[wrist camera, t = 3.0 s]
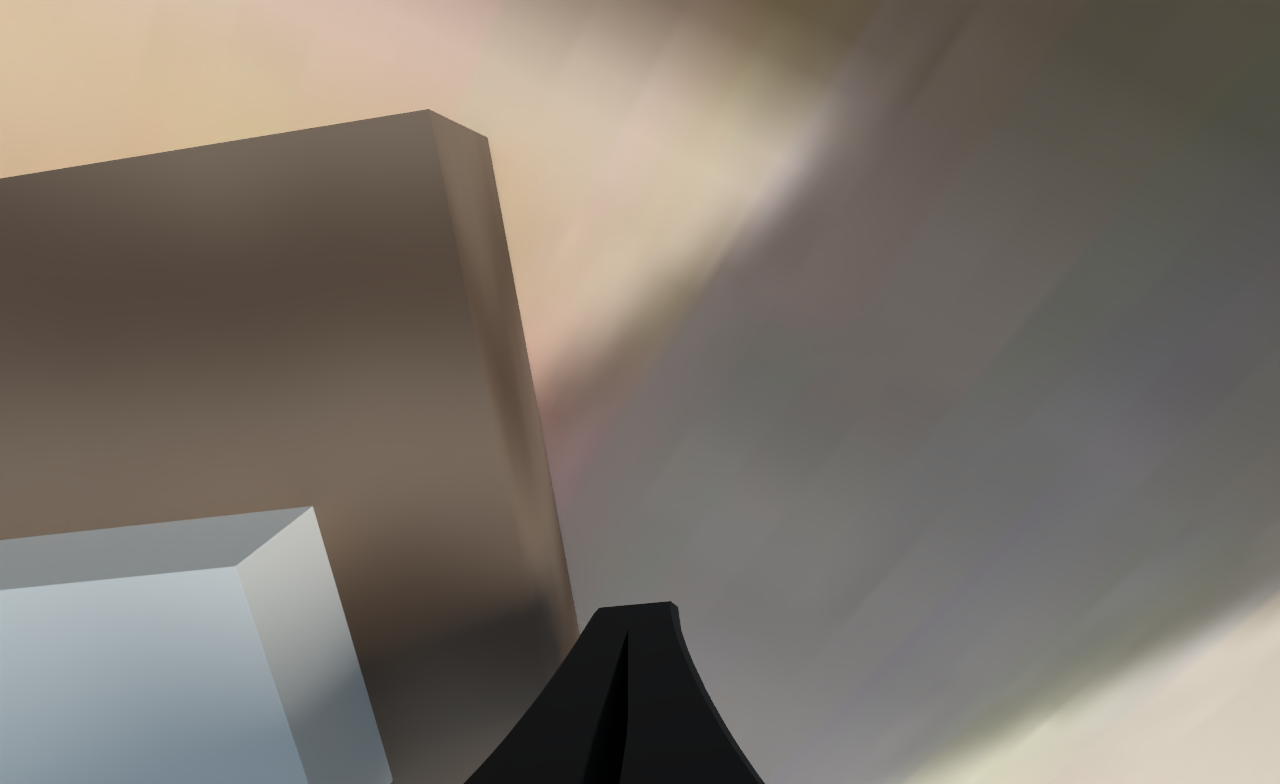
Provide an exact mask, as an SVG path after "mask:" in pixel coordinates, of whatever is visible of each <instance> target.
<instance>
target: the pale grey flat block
mask: <svg viewBox="0 0 1280 784" xmlns="http://www.w3.org/2000/svg"><path fill="white" fill-rule="evenodd" d="M392 780H393V778H392V775H391V771H390V768H389V764H388V761H387V758H386V754H385V751H384V747H383V744H382V741H381V737H380V734H379V730H378V727H377V724H376V720H375V717H374V713H373V710H372V706H371V703H370V700H369V696H368V693H367V689H366V686H365V683H364V679H363V676H362V672H361V669H360V666H359V662H358V659H357V655H356V652H355V648H354V645H353V642H352V638H351V635H350V631H349V628H348V625H347V621H346V618H345V614H344V611H343V608H342V604H341V601H340V597H339V594H338V590H337V587H336V584H335V580H334V577H333V573H332V570H331V567H330V563H329V560H328V556H327V553H326V550H325V546H324V543H323V539H322V536H321V532H320V529H319V526H318V522H317V519H316V515H315V512H314V509H313V506H308V507H299V508H290V509H281V510H272V511H263V512H253V513H244V514H235V515H226V516H217V517H208V518H198V519H189V520H180V521H171V522H162V523H153V524H143V525H134V526H125V527H116V528H107V529H98V530H89V531H79V532H70V533H61V534H52V535H43V536H34V537H24V538H15V539H6V540H0V784H391V782H392Z"/></svg>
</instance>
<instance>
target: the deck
mask: <svg viewBox="0 0 1280 784" xmlns="http://www.w3.org/2000/svg"><path fill="white" fill-rule="evenodd" d="M308 506H313V509H314V512H315V515H316V519H317V522H318V526H319V529H320V532H321V536H322V539H323V543H324V546H325V550H326V553H327V556H328V560H329V563H330V567H331V570H332V573H333V577H334V580H335V584H336V587H337V590H338V594H339V597H340V601H341V604H342V608H343V611H344V614H345V618H346V621H347V625H348V628H349V631H350V635H351V638H352V642H353V645H354V648H355V652H356V655H357V659H358V662H359V666H360V669H361V672H362V676H363V679H364V683H365V686H366V689H367V693H368V696H369V700H370V703H371V706H372V710H373V713H374V717H375V720H376V724H377V727H378V730H379V734H380V737H381V741H382V744H383V747H384V751H385V754H386V758H387V761H388V764H389V768H390V771H391V775H392V778H393V780H392V782H391V784H464V782H465V781H466V780H467V779H468V778H469V777H470V776H471V775H472V774H473V773H474V772H475V771H476V770H477V769H478V768H479V767H480V766H481V764H482V763H483V762H484V761H485V760H486V759H487V758H488V757H489V756H490V754H491V753H492V752H493V751H494V750H495V749H496V748H497V746H498V745H499V744H500V743H501V742H502V741H503V739H504V738H505V737H506V736H507V735H508V733H509V732H510V731H511V730H512V728H513V727H514V726H515V725H516V723H517V722H518V721H519V720H520V718H521V717H522V716H523V715H524V713H525V712H526V711H527V710H528V708H529V707H530V706H531V705H532V703H533V702H534V701H535V700H536V698H537V697H538V696H539V694H540V693H541V692H542V690H543V689H544V687H545V686H546V685H547V683H548V682H549V680H550V679H551V678H552V676H553V675H554V673H555V672H556V671H557V669H558V668H559V666H560V665H561V664H562V662H563V661H564V659H565V658H566V656H567V655H568V653H569V652H570V650H571V649H572V647H573V646H574V644H575V643H576V641H577V640H578V638H579V637H580V634H579V629H578V624H577V618H576V613H575V607H574V602H573V597H572V591H571V586H570V580H569V575H568V570H567V564H566V559H565V554H564V548H563V543H562V537H561V532H560V527H559V521H558V516H557V510H556V505H555V500H554V494H553V489H552V484H551V478H550V473H549V467H548V462H547V457H546V451H545V446H544V440H543V435H542V430H541V424H540V419H539V413H538V408H537V403H536V397H535V392H534V387H533V381H532V376H531V370H530V365H529V360H528V354H527V349H526V343H525V338H524V333H523V327H522V322H521V317H520V311H519V306H518V300H517V295H516V290H515V284H514V279H513V273H512V268H511V263H510V257H509V252H508V247H507V241H506V236H505V230H504V225H503V220H502V214H501V209H500V203H499V198H498V193H497V187H496V182H495V177H494V171H493V166H492V160H491V155H490V150H489V144H488V139H487V137H485V136H483V135H481V134H479V133H477V132H475V131H473V130H470V129H468V128H466V127H464V126H462V125H460V124H458V123H456V122H454V121H452V120H450V119H448V118H446V117H444V116H442V115H439V114H437V113H435V112H433V111H431V110H429V109H427V110H421V111H415V112H409V113H403V114H396V115H390V116H384V117H378V118H372V119H366V120H359V121H353V122H347V123H341V124H335V125H329V126H322V127H316V128H310V129H304V130H298V131H292V132H285V133H279V134H273V135H267V136H261V137H255V138H248V139H242V140H236V141H230V142H224V143H218V144H211V145H205V146H199V147H193V148H187V149H181V150H174V151H168V152H162V153H156V154H150V155H144V156H137V157H131V158H125V159H119V160H113V161H107V162H100V163H94V164H88V165H82V166H76V167H70V168H63V169H57V170H51V171H45V172H39V173H33V174H26V175H20V176H14V177H8V178H2V179H0V540H6V539H15V538H24V537H34V536H43V535H52V534H61V533H70V532H79V531H89V530H98V529H107V528H116V527H125V526H134V525H143V524H153V523H162V522H171V521H180V520H189V519H198V518H208V517H217V516H226V515H235V514H244V513H253V512H263V511H272V510H281V509H290V508H299V507H308Z"/></svg>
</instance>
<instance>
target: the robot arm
mask: <svg viewBox="0 0 1280 784" xmlns="http://www.w3.org/2000/svg"><path fill="white" fill-rule="evenodd" d="M464 784H765V783H764V782H763V781H762V779H761V778H760V777H759V775H758V774H757V772H756V771H755V769H754V768H753V766H752V765H751V764H750V762H749V761H748V759H747V758H746V756H745V755H744V753H743V752H742V750H741V749H740V747H739V746H738V744H737V743H736V741H735V740H734V738H733V736H732V735H731V733H730V731H729V730H728V728H727V727H726V725H725V723H724V721H723V720H722V718H721V716H720V714H719V713H718V711H717V709H716V707H715V706H714V704H713V702H712V700H711V698H710V696H709V694H708V692H707V691H706V689H705V687H704V684H703V682H702V680H701V678H700V676H699V674H698V672H697V670H696V668H695V665H694V663H693V661H692V659H691V656H690V654H689V651H688V649H687V646H686V643H685V640H684V637H683V634H682V631H681V626H680V618H679V611H678V607H677V606H676V605H675V604H673V603H672V602H671V601H669V602H658V603H647V604H636V605H625V606H614V607H603V608H599V609H598V610H597V611H596V612H595V613H594V615H593V616H592V618H591V619H590V621H589V623H588V624H587V626H586V627H585V629H584V630H583V632H582V634H581V635H580V637H579V638H578V640H577V641H576V643H575V644H574V646H573V647H572V649H571V650H570V652H569V653H568V655H567V656H566V658H565V659H564V661H563V662H562V664H561V665H560V666H559V668H558V669H557V671H556V672H555V673H554V675H553V676H552V678H551V679H550V680H549V682H548V683H547V685H546V686H545V687H544V689H543V690H542V692H541V693H540V694H539V696H538V697H537V698H536V700H535V701H534V702H533V703H532V705H531V706H530V707H529V708H528V710H527V711H526V712H525V713H524V715H523V716H522V717H521V718H520V720H519V721H518V722H517V723H516V725H515V726H514V727H513V728H512V730H511V731H510V732H509V733H508V735H507V736H506V737H505V738H504V739H503V741H502V742H501V743H500V744H499V745H498V746H497V748H496V749H495V750H494V751H493V752H492V753H491V754H490V756H489V757H488V758H487V759H486V760H485V761H484V762H483V763H482V764H481V766H480V767H479V768H478V769H477V770H476V771H475V772H474V773H473V774H472V775H471V776H470V777H469V778H468V779H467V780H466V781H465V782H464Z"/></svg>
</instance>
